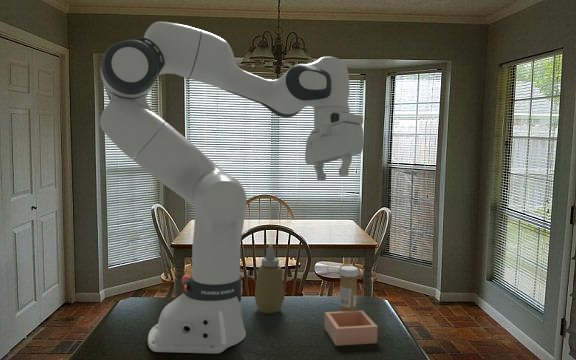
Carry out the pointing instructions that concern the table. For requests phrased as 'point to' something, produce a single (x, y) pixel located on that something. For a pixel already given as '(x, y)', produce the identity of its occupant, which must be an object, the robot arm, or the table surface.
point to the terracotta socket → (350, 327)
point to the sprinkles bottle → (348, 288)
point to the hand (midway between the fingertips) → (332, 178)
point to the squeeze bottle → (269, 284)
